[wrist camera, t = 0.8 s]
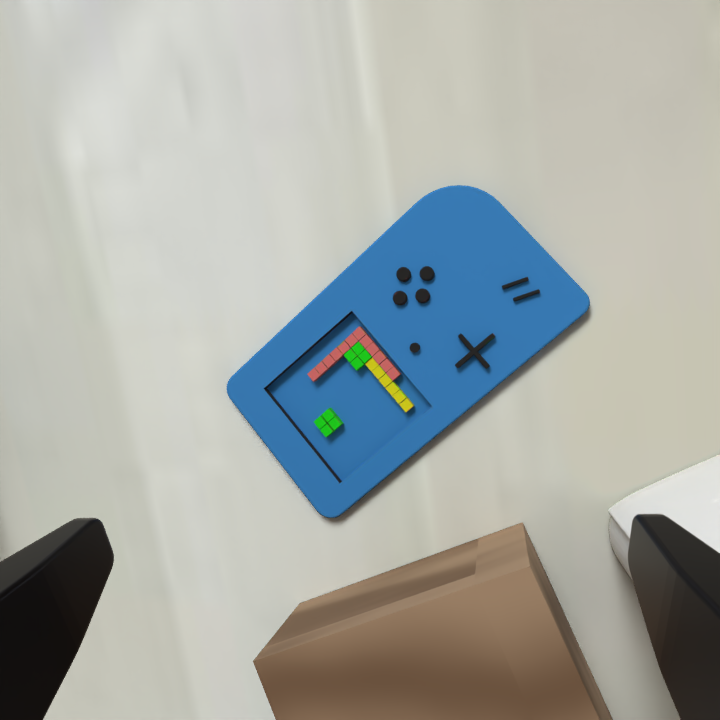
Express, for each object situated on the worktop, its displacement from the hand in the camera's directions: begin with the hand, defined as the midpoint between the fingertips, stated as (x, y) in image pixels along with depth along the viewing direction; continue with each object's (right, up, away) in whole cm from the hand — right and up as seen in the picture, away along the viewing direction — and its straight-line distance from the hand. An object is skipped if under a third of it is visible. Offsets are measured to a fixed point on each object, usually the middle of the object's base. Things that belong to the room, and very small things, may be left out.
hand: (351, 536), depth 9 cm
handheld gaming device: (+2, +3, +16) cm, 16 cm away
